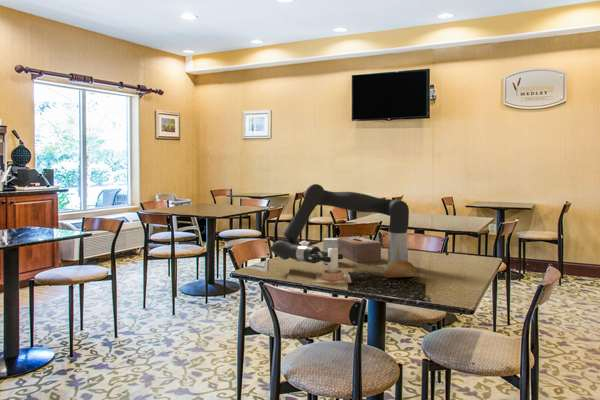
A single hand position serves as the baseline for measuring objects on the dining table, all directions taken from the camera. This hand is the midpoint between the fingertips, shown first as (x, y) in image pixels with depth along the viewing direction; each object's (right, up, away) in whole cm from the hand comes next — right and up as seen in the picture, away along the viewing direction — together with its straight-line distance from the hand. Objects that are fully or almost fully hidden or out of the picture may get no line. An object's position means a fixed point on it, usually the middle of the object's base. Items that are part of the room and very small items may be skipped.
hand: (336, 258), depth 208 cm
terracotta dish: (-1, -9, +2) cm, 9 cm away
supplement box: (0, -8, +43) cm, 44 cm away
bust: (-13, -7, +53) cm, 55 cm away
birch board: (-1, -10, +2) cm, 11 cm away
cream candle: (-1, -8, +2) cm, 8 cm away
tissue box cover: (+16, -7, +58) cm, 60 cm away
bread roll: (+29, -10, +10) cm, 33 cm away
